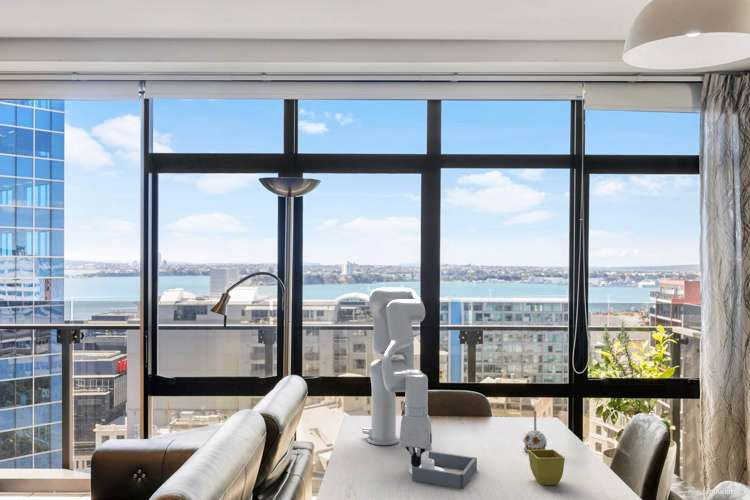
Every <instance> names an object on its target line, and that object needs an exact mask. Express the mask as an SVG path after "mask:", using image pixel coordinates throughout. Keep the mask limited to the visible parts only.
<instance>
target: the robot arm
mask: <svg viewBox="0 0 750 500" xmlns="http://www.w3.org/2000/svg"><path fill="white" fill-rule="evenodd" d="M368 297H369V298H368V299H369V300H368V301H369V304H368V305H369V307H370V308H369V309H370V313H371V316H372V319H373V320H372V321H373V323H372V324H373V327H372V328H373V333H372V334H373V335H372V336H373V337H372V338H373V341H372V342H373V349H374V353H375V354H377V355H378V356H382V358H379V359H375V360H374V361H372V362H371V363H370V365H369V375H370V377H369V378H370V383H371V427H362V430H361V432H362V434H365V435H368V436H367V439H366V440H367V441H368V443H369V444H372V445H376V446H393V445H396V444H398V443H399V444H400V447H401V448H403V449H406V451H407V452H409V455H410V465H411V468H412V467H419V466H420V465H422V455H423V454H424V453H425V452H427V453H428V452H429V451H432V450H433V447H432V442H433V432H432V422H431V417H430V415H428V412H429V407H428V405H429V404H428V403H429V402H428V401H429V400H428V399H429V397H428V394H429V392H428V391H429V384H428V383H429V379H428V376H427V375H426V373H423V372H422V370H420V369H417V368H414V367H415V348H414V347H415V346H414V344H415V343H414V342H415V337H414V331H413V330H414V329H413V324H412V323H421V322H422V321H424V320H425V317H426V309H425V305H424V302H423V301H422V299H421V297H419V295H418V294H417V292H416V291H415V290H414V289H412V288H410V287H378V288H375V289H372V290H371V291H370V294H369V296H368ZM393 356H400V358H393ZM401 392H402V393H403V392H404V393H405V394H404V395H405V397H404V400H405V401H404V402H405V403H404V405H401V408H400V409H401V411H403V412H404V413H403V414H402V416H401V420H400V429H399V435H397V434H396V433H397V432H396V431H397V427H396V426H397V425H396V424H397V395H396V393H401Z"/></svg>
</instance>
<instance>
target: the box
mask: <svg viewBox="0 0 750 500" xmlns="http://www.w3.org/2000/svg"><path fill="white" fill-rule="evenodd" d="M427 453H428V458H429V459H433V460H434V466H439V467H448V468H455V469H462V471H461V473H459V472H452V471H451V472H450V471H446V470H445V471H440V470H433V469H426V468H420V467H412V466H411V468H412V474H411V481H414V482H421V483H426V484H430V485H431V484H433V485H439V486H445V487H449V488H450V487H451V488H455V489H456V488H457V489H462V490H463V489H465V487H467V484H469V482H470V480H471V478H472V477H473V476H474V474H475V473H476V471H477V467H478V466H477V465H478V464H477V463H478V458H477V457H473V456H467V455H461V454H459V455H458V454H452V453H444V452H438V451H432V450H431V451H427Z"/></svg>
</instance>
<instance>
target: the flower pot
mask: <svg viewBox="0 0 750 500" xmlns="http://www.w3.org/2000/svg"><path fill="white" fill-rule="evenodd" d="M527 454H528V461H529V466H530V470H531V473H532V474H533V477H534V479H535V481H537V482H538V483H539V484H540V485H541V486H556V485H558V484H559V483H560V481H561V480H562V478H563V475H564V469H565V461H566V460H565V459H566V458H565V457H564V456H563V455H562V454H561V453H559V452H558V451H557V450H555V449H553V448H552V449H546V450H528V452H527Z"/></svg>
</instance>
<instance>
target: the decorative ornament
mask: <svg viewBox="0 0 750 500" xmlns="http://www.w3.org/2000/svg"><path fill="white" fill-rule="evenodd" d="M533 421H534V422H533V426H534V427H533V428H534V429H533V430H532V429H531V430H530V431H527V432H526V433H525V436H524V437H523V443H524V446H525V447H524V448H523V451H524V452H527V453H528V450H547V449H546V447H547V438H546V435H545V434H544V433H543V432H541V431H540V430H538V429H537V410H534V411H533Z"/></svg>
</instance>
